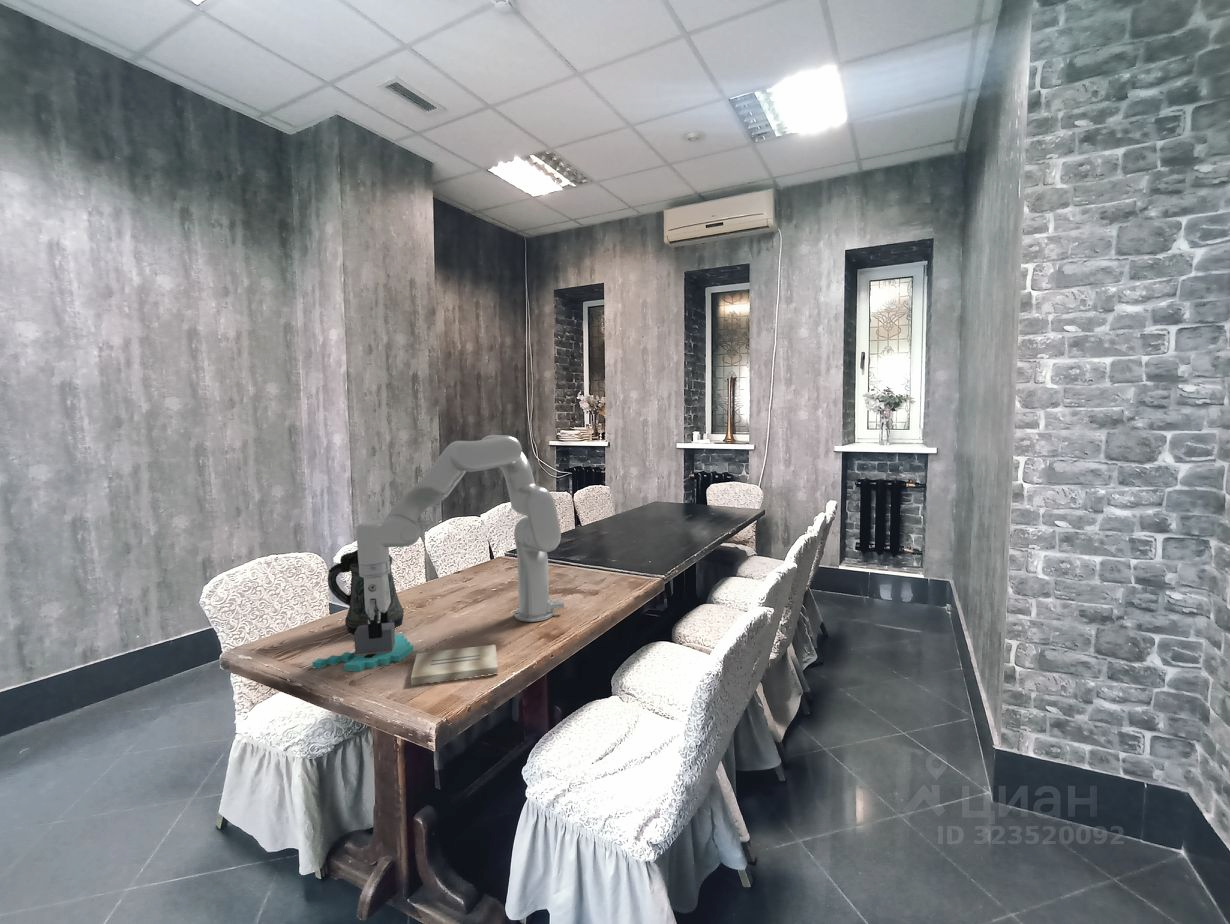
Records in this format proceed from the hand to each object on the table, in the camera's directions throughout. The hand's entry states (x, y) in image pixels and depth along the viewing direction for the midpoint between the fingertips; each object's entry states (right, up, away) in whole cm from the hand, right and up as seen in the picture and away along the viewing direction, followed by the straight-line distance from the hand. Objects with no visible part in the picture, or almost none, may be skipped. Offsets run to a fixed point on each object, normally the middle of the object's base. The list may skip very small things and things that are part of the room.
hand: (378, 630), depth 147 cm
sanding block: (-1, -5, 0) cm, 5 cm away
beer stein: (-11, -5, +20) cm, 24 cm away
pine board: (+23, -7, -8) cm, 25 cm away
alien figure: (-2, -7, +1) cm, 8 cm away
